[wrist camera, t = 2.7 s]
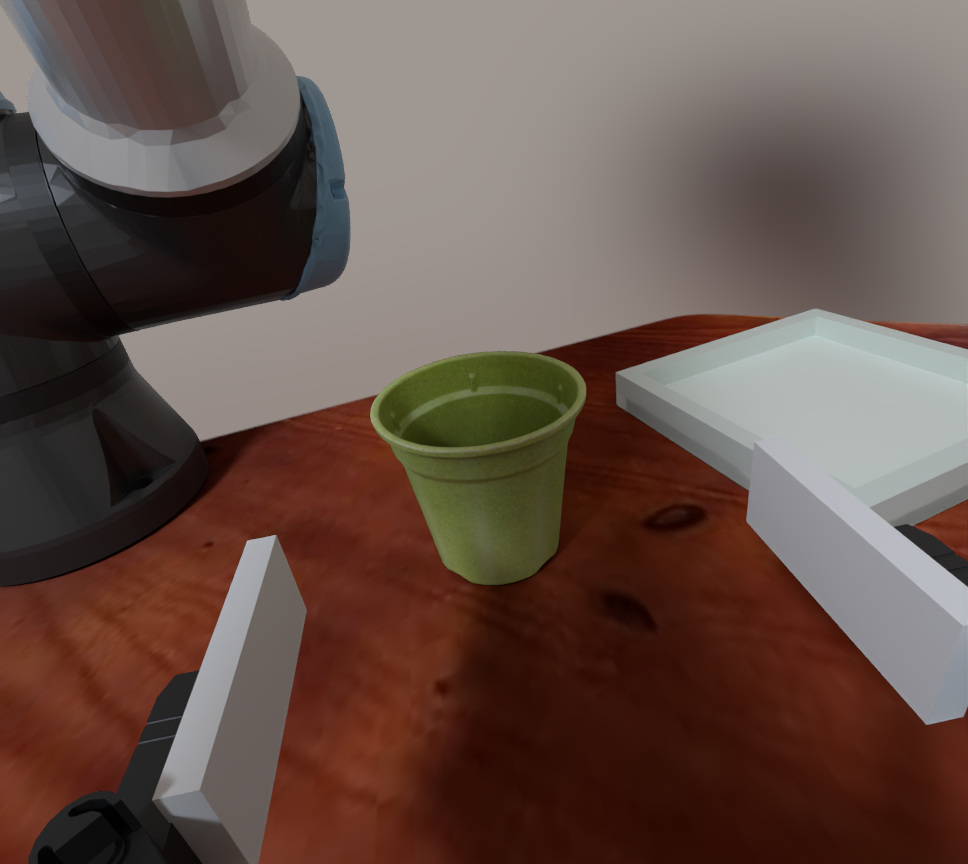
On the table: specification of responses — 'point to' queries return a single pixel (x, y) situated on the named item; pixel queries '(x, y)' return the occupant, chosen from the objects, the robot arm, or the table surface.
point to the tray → (820, 407)
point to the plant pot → (486, 456)
